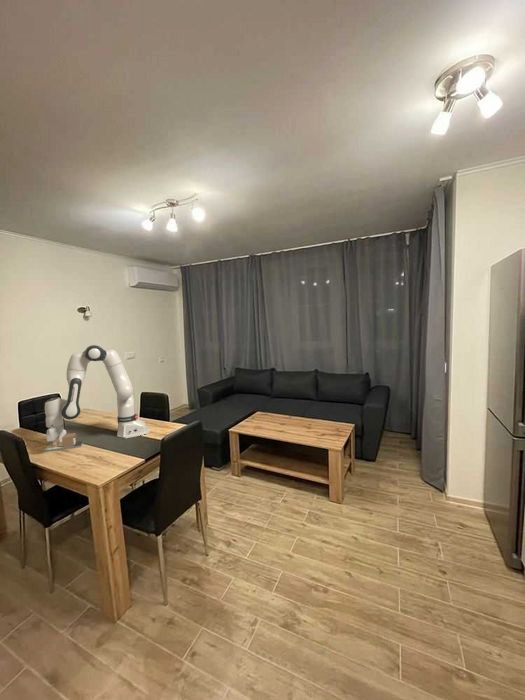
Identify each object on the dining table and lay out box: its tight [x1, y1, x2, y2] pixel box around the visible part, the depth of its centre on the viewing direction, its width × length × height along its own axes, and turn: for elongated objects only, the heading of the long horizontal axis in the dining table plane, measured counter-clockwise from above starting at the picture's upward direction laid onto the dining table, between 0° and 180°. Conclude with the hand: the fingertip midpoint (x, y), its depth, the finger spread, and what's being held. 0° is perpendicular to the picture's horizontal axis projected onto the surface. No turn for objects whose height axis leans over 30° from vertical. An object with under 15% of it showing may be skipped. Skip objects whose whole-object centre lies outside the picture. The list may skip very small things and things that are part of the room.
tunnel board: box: [43, 432, 84, 453], centre depth 190 cm, size 20×8×8 cm, turn 109°
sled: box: [52, 437, 77, 447], centre depth 190 cm, size 12×4×5 cm, turn 109°
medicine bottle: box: [59, 428, 67, 443], centre depth 200 cm, size 7×7×12 cm
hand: (56, 443), depth 188 cm, fingers closed on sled, 3 cm apart
